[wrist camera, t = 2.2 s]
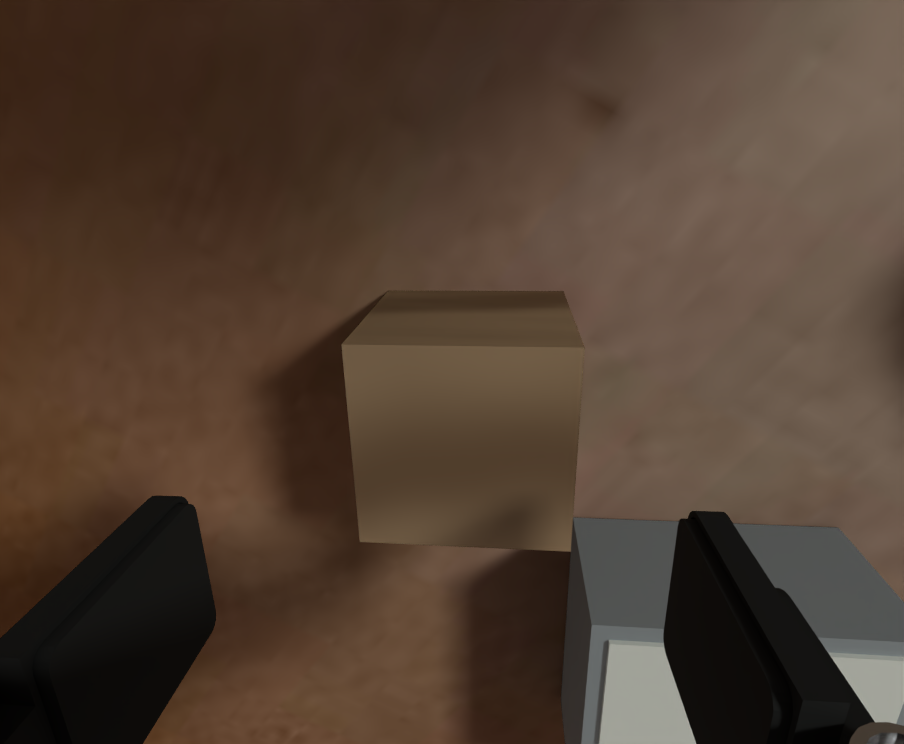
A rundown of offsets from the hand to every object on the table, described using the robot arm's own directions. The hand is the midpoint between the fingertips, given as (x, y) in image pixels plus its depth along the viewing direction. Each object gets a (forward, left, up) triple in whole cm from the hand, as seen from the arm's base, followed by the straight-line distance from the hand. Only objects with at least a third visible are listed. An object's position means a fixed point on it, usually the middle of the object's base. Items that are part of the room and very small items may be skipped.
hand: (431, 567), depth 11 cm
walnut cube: (-1, 0, -9) cm, 9 cm away
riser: (+9, +8, -9) cm, 15 cm away
